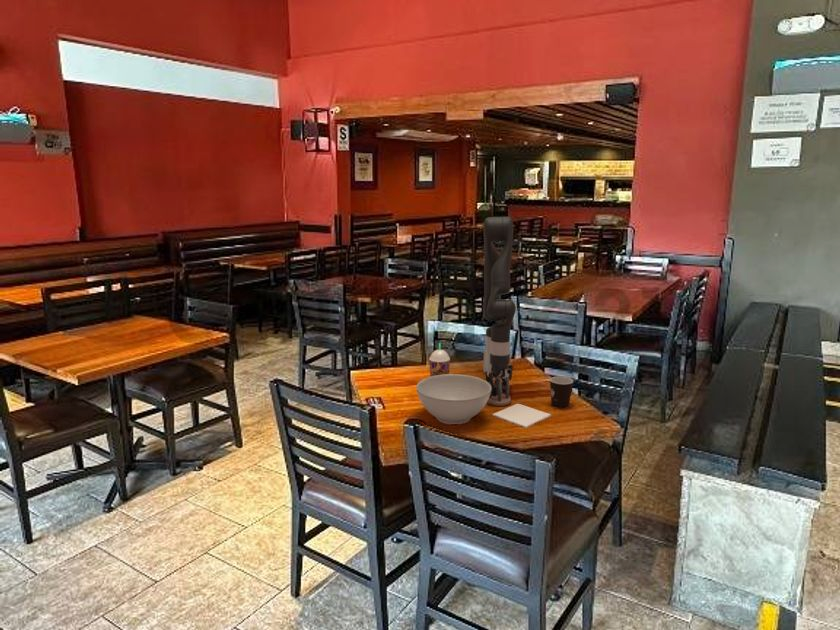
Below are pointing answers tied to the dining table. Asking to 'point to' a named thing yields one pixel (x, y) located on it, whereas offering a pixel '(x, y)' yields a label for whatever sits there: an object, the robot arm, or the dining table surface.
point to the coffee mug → (560, 391)
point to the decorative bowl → (453, 396)
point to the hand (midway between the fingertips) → (498, 393)
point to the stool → (500, 395)
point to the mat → (521, 415)
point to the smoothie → (439, 362)
